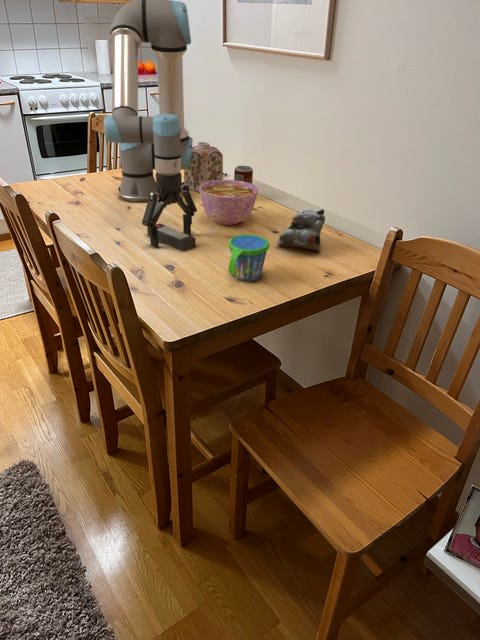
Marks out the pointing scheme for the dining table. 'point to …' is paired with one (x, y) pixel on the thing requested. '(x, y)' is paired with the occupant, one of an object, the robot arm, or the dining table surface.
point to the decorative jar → (203, 166)
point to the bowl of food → (228, 200)
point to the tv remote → (175, 237)
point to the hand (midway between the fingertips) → (171, 240)
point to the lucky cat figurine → (304, 230)
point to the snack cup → (247, 256)
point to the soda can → (243, 174)
